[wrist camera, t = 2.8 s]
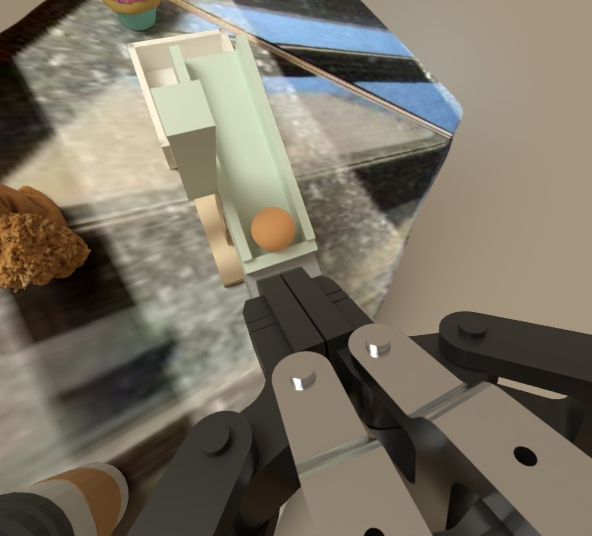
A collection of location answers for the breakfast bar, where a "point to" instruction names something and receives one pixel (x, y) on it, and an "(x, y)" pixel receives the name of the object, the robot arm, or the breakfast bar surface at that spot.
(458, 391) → the robot arm
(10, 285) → the stuffed squirrel
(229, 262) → the fulcrum stand
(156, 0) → the cupcake
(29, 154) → the breakfast bar surface
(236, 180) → the tilting chute
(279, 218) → the ball
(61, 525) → the coffee cup
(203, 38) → the tub
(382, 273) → the breakfast bar surface
